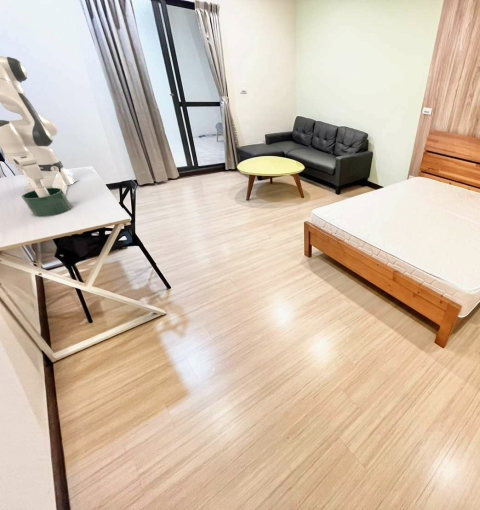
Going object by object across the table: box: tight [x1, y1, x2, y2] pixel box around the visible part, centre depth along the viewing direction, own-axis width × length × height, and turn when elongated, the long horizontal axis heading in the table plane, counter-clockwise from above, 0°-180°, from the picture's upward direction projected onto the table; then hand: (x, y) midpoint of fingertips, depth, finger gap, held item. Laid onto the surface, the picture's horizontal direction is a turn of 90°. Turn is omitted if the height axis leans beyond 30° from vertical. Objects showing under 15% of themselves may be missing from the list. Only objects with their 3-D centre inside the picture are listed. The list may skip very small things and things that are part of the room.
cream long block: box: [24, 170, 68, 195], centre depth 158 cm, size 32×11×11 cm, turn 36°
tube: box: [22, 170, 50, 198], centre depth 138 cm, size 4×4×15 cm
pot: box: [21, 188, 72, 218], centre depth 143 cm, size 15×15×10 cm
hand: (37, 185), depth 138 cm, fingers closed on tube, 4 cm apart
